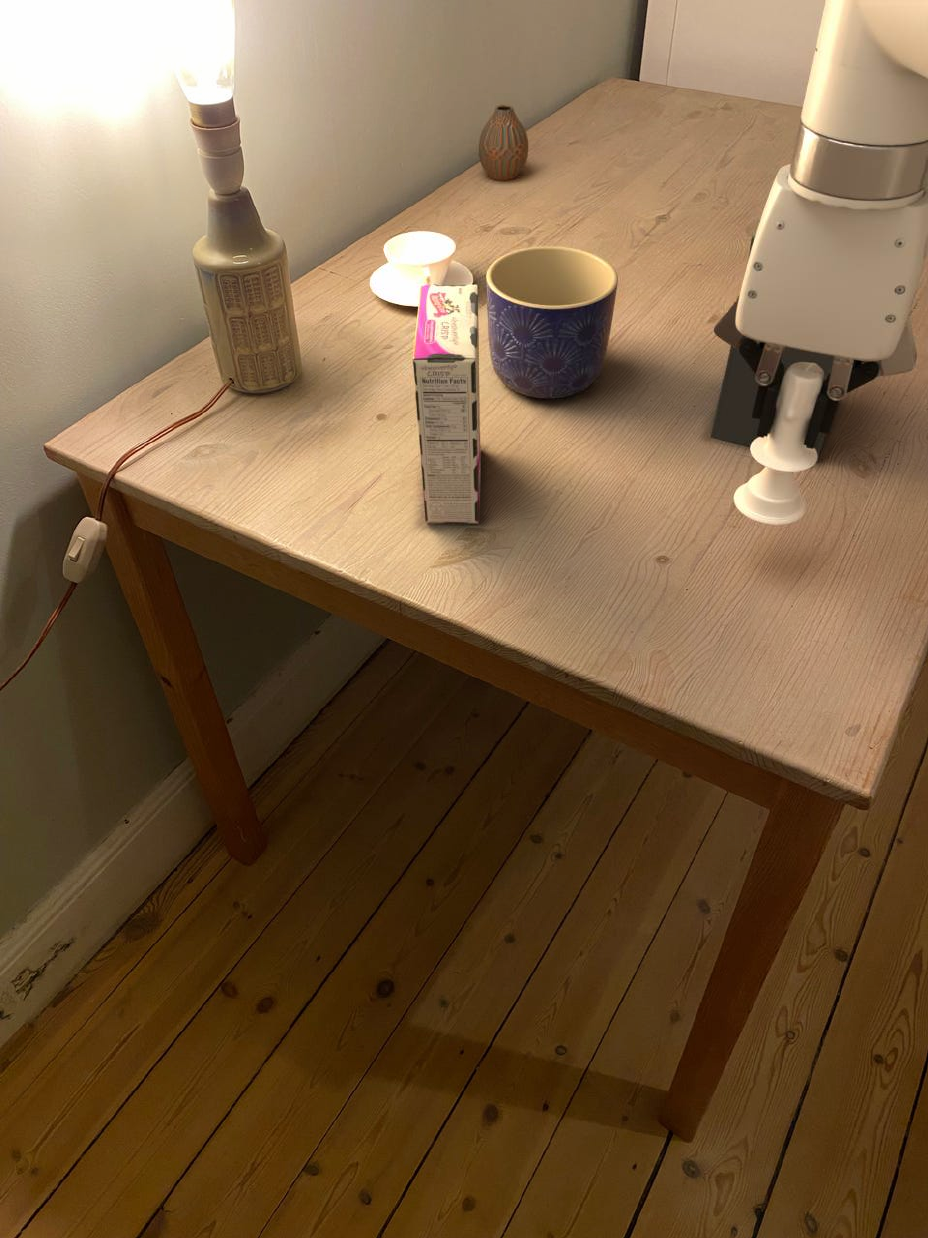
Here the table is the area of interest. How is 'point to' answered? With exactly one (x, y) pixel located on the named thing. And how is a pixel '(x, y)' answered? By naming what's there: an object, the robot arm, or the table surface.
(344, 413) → the table surface
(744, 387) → the chute
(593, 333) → the planter
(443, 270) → the teacup
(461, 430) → the candy bar box
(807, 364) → the candle
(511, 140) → the vase
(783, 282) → the robot arm
